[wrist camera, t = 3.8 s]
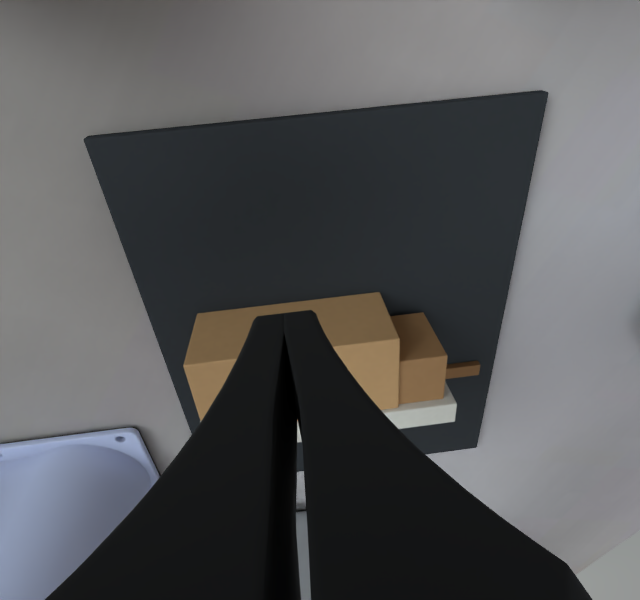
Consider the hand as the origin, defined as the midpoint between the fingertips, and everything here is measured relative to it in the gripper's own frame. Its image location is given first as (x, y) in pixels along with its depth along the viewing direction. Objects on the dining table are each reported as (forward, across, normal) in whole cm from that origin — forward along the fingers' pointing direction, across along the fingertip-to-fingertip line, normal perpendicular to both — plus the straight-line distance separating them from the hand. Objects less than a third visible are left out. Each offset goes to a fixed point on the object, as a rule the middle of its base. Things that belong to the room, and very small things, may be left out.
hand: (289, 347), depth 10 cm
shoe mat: (+10, -2, +8) cm, 13 cm away
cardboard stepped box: (+10, -1, +8) cm, 13 cm away
